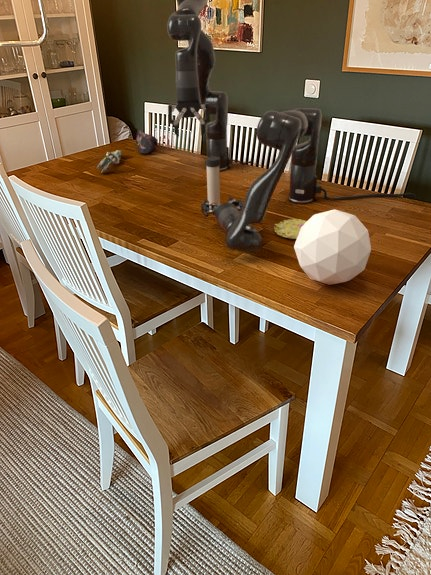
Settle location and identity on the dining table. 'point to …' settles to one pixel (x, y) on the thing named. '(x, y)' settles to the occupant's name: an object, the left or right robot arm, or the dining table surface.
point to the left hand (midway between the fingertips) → (189, 135)
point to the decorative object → (290, 228)
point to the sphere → (333, 247)
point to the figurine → (110, 160)
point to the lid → (212, 161)
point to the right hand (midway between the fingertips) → (218, 200)
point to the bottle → (213, 184)
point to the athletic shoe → (146, 142)
